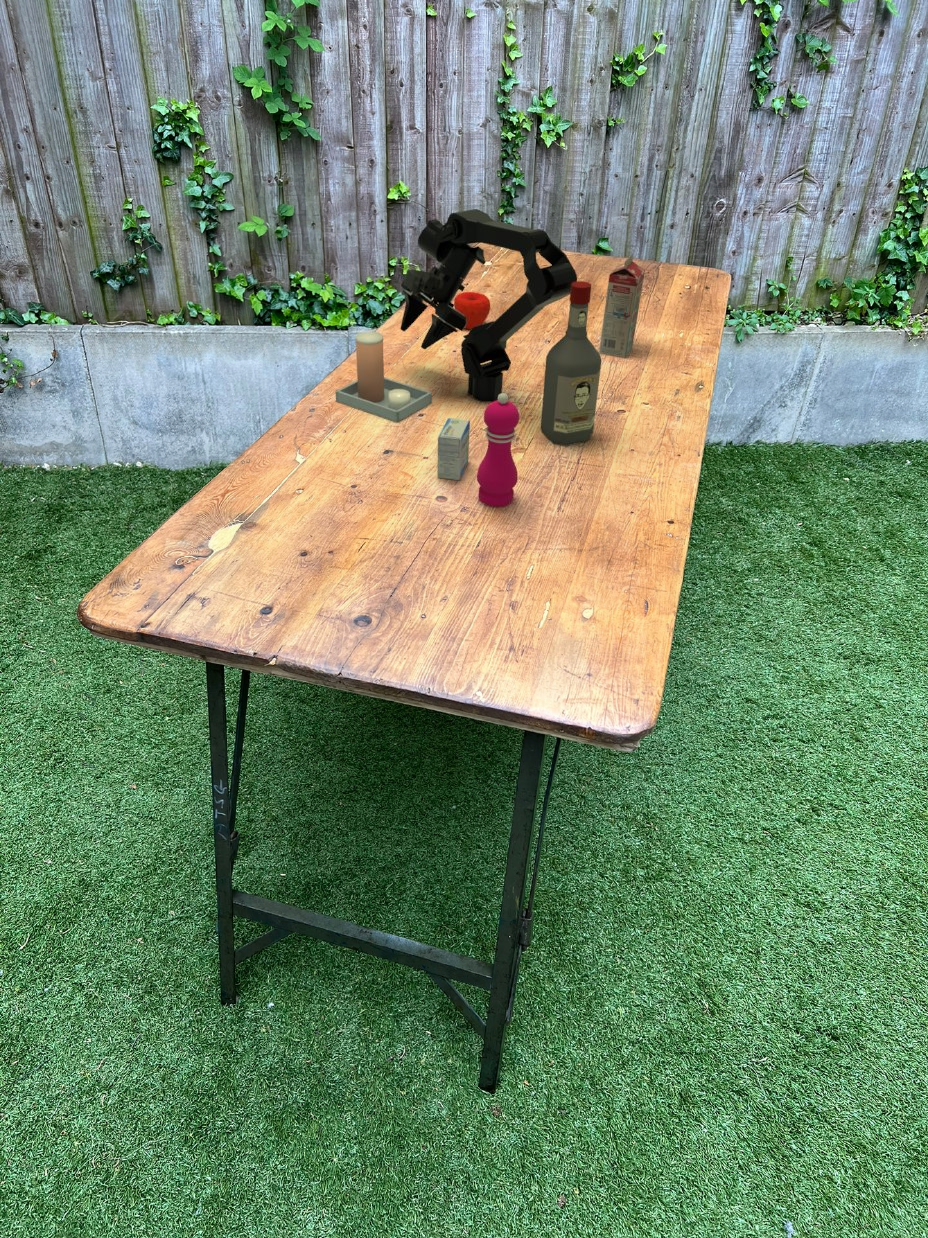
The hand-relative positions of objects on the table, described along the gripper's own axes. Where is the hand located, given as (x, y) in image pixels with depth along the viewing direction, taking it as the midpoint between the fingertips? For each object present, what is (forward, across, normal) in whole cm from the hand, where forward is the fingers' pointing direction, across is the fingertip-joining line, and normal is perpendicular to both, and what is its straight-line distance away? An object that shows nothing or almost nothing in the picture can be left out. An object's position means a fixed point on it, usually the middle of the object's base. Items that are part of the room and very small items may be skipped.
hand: (412, 339), depth 192 cm
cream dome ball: (+12, +8, 0) cm, 15 cm away
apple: (-6, -27, +34) cm, 44 cm away
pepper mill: (+12, +48, -2) cm, 49 cm away
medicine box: (+13, +35, -3) cm, 38 cm away
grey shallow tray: (+14, +5, -1) cm, 15 cm away
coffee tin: (+14, +2, -3) cm, 15 cm away
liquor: (-2, +33, +20) cm, 39 cm away
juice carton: (-21, +1, +52) cm, 57 cm away
